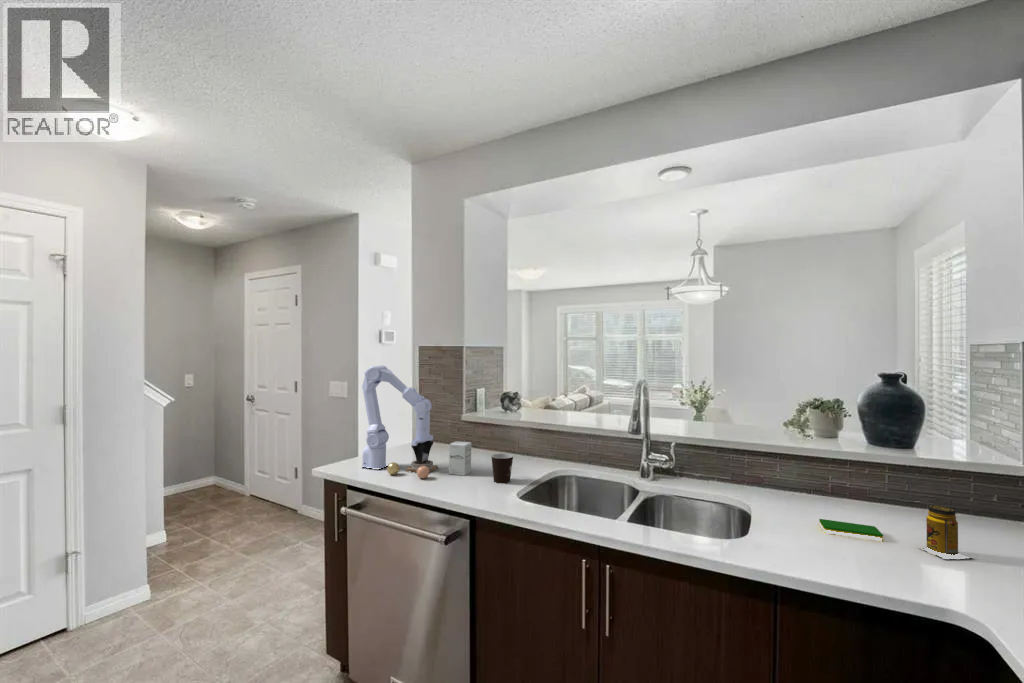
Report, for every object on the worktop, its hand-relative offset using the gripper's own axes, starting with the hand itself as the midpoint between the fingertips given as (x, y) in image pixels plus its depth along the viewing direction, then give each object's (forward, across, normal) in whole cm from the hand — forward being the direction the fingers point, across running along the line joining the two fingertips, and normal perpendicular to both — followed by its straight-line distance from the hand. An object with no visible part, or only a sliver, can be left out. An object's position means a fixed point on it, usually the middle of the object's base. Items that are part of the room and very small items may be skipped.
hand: (422, 459), depth 195 cm
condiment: (+5, -19, -169) cm, 170 cm away
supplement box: (+5, +2, -17) cm, 18 cm away
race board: (+4, 0, 0) cm, 4 cm away
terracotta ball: (+2, -11, -7) cm, 13 cm away
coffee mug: (+5, -1, -38) cm, 38 cm away
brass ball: (+2, -11, +7) cm, 13 cm away
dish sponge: (+5, -12, -150) cm, 151 cm away
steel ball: (-1, 0, 0) cm, 1 cm away
